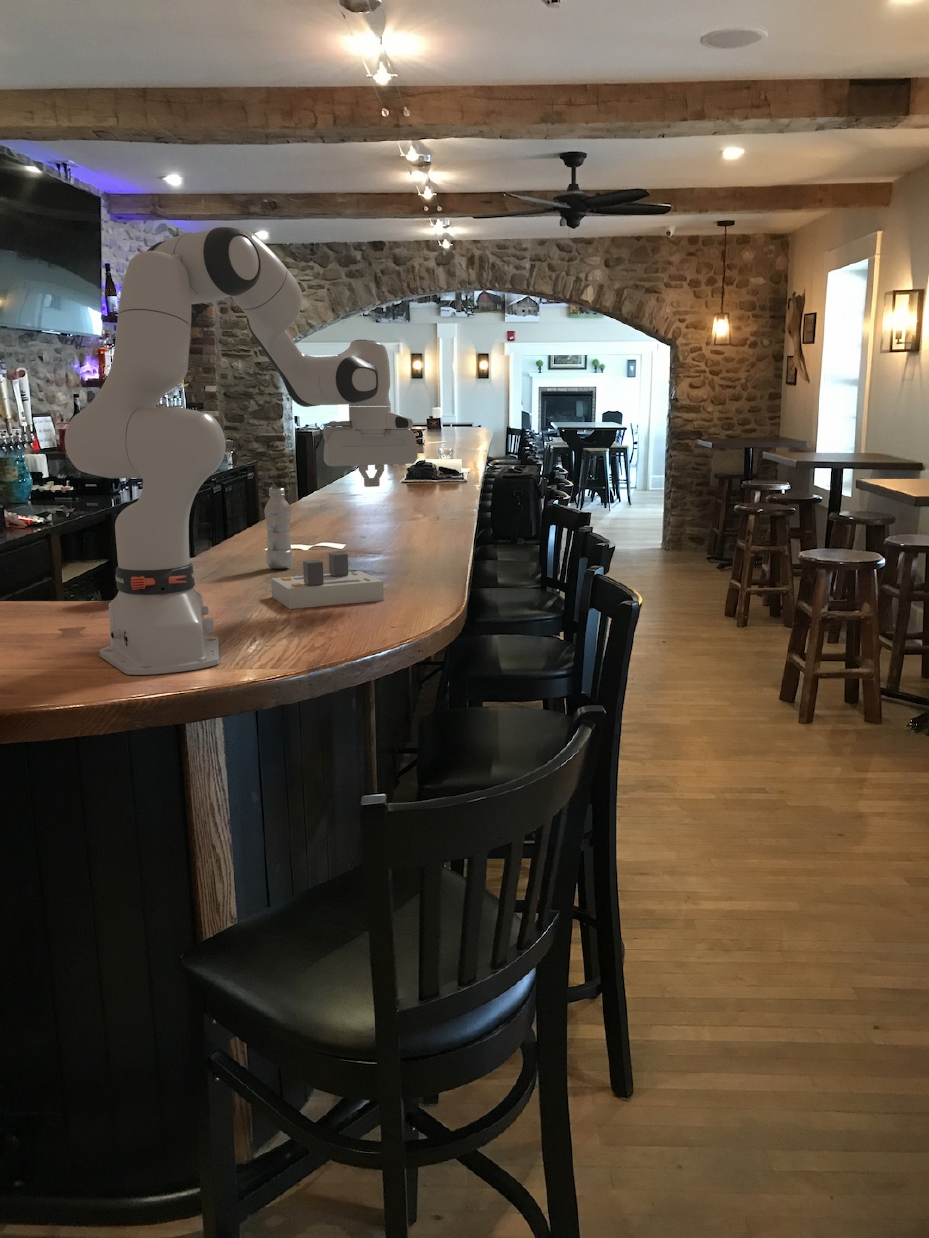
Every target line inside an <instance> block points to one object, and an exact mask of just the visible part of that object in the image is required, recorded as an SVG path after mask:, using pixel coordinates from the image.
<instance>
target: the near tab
mask: <svg viewBox="0 0 929 1238" xmlns="http://www.w3.org/2000/svg"><path fill="white" fill-rule="evenodd" d="M302 566H303V567H302V568H303V569H302V570H303V571H302V573H303V576H304V583H305V584H307V585H318V584H324V580H323V574H324V562H323V561H321V560H320V559H314V560H312V559H311V560H303V561H302Z"/></svg>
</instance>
